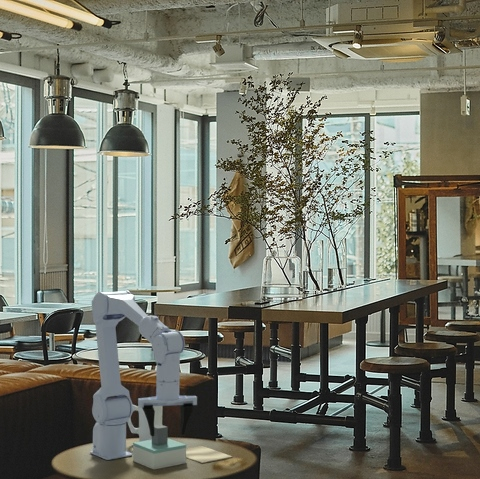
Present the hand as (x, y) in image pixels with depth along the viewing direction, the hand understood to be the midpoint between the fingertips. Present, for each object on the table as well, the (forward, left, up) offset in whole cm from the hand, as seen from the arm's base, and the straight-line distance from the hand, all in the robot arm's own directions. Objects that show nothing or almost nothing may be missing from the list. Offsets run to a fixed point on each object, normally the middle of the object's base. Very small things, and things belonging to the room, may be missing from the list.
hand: (167, 434), depth 227 cm
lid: (-11, +5, -7) cm, 14 cm away
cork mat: (-10, +18, -10) cm, 23 cm away
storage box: (-11, +5, -10) cm, 15 cm away
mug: (-30, +12, -10) cm, 34 cm away
